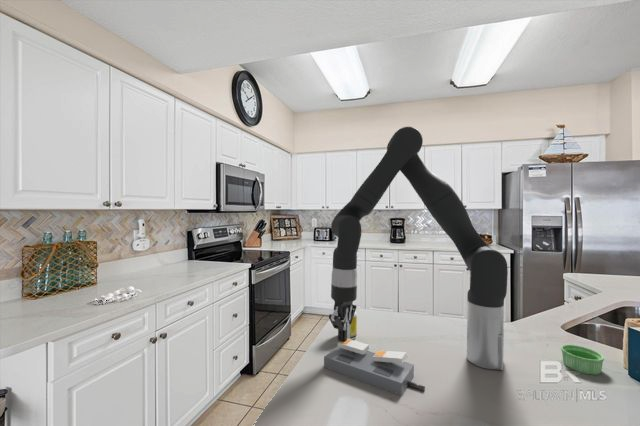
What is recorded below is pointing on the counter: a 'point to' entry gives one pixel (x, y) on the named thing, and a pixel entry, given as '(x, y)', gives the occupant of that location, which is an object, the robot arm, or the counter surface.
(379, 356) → the block
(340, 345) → the rocker outer
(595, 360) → the ramekin
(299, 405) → the counter surface
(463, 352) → the counter surface
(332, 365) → the power strip
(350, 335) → the pill bottle
